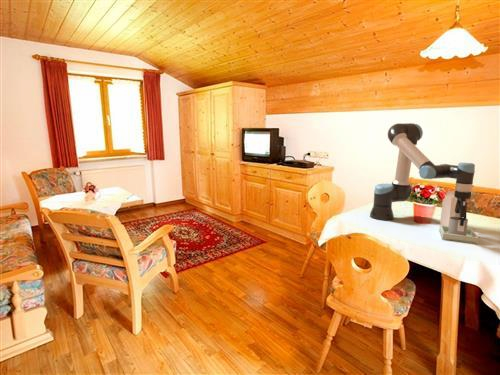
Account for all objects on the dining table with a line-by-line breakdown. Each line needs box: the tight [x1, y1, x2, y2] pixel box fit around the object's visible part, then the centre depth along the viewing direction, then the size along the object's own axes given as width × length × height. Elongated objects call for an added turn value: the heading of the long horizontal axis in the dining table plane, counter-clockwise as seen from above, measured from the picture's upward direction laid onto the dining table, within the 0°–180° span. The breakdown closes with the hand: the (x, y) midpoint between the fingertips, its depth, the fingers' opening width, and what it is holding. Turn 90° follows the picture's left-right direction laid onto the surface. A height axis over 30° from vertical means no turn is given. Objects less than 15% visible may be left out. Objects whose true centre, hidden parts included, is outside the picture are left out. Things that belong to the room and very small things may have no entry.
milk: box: [439, 190, 457, 226], centre depth 186 cm, size 6×6×22 cm
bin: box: [438, 224, 479, 245], centre depth 167 cm, size 16×16×4 cm
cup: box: [448, 217, 469, 236], centre depth 166 cm, size 8×8×10 cm
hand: (458, 227), depth 166 cm, fingers open, 13 cm apart
